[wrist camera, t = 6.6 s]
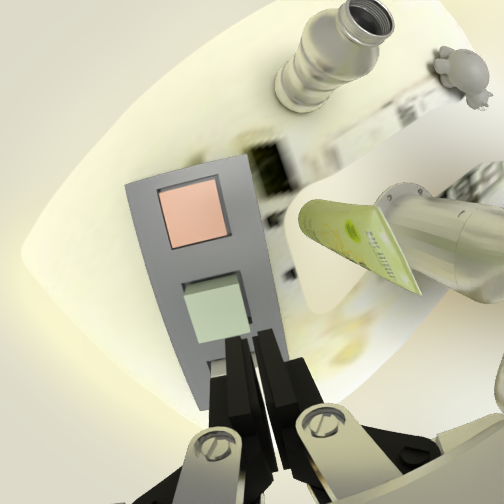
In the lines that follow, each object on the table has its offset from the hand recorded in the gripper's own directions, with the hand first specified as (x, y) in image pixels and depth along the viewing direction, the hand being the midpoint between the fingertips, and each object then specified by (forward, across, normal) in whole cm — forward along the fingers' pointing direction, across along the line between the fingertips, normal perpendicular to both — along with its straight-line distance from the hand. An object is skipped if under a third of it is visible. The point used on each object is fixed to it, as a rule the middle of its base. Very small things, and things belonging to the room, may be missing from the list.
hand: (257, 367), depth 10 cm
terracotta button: (+26, +3, -4) cm, 27 cm away
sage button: (+25, +3, +7) cm, 26 cm away
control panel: (+27, +3, +7) cm, 28 cm away
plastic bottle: (+27, -12, -16) cm, 33 cm away
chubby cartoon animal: (+27, -40, -17) cm, 51 cm away
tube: (+27, -10, 0) cm, 29 cm away
